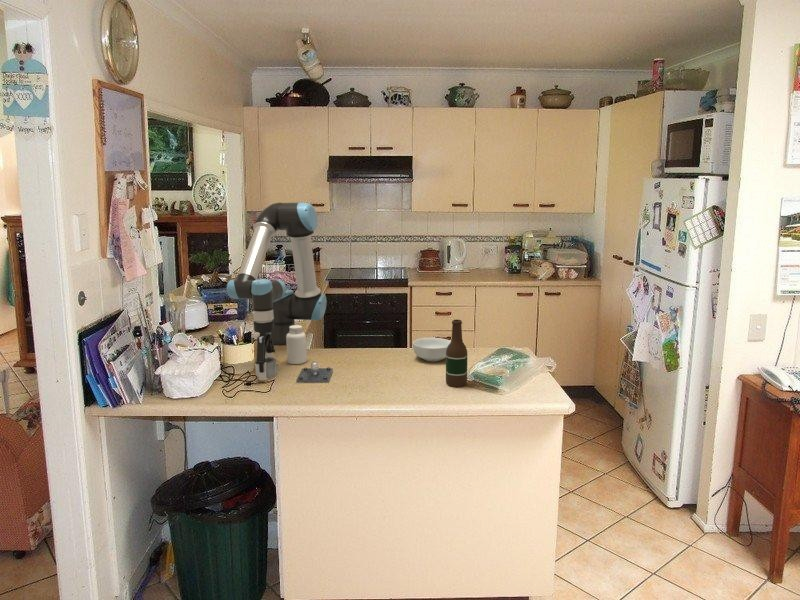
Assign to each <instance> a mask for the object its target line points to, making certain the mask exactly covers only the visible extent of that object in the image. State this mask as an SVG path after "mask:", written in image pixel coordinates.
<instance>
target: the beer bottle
mask: <svg viewBox="0 0 800 600" xmlns="http://www.w3.org/2000/svg"><path fill="white" fill-rule="evenodd" d="M451 324H452V325H451V326H452V328H451V339H450V341H451V342H450V344H449V345H448V347H447V350H446V358H445V384H446V385H447V386H449V387H453V388H462V387H463V388H464V387H465V386H466V385H467V384H468V350H467V346H466V345H465V343H464V342H463V328H462V324H463V321H462V320H461V319H454V320H453V319H452V321H451Z"/></svg>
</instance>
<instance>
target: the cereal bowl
mask: <svg viewBox="0 0 800 600" xmlns="http://www.w3.org/2000/svg"><path fill="white" fill-rule="evenodd" d="M450 342H451V339H447V338H441V337H420V338H417V339H415V340H414V341H412V350H413V352H414V354H415V355H416V356H417V357H419V358H421V359H423V360H425V361H426V362H439V361H441V360H443V359H446V350H447V347H448V345H449V344H450Z"/></svg>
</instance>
